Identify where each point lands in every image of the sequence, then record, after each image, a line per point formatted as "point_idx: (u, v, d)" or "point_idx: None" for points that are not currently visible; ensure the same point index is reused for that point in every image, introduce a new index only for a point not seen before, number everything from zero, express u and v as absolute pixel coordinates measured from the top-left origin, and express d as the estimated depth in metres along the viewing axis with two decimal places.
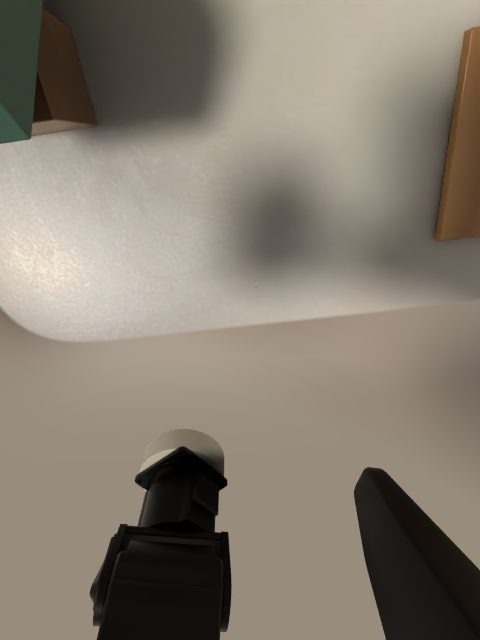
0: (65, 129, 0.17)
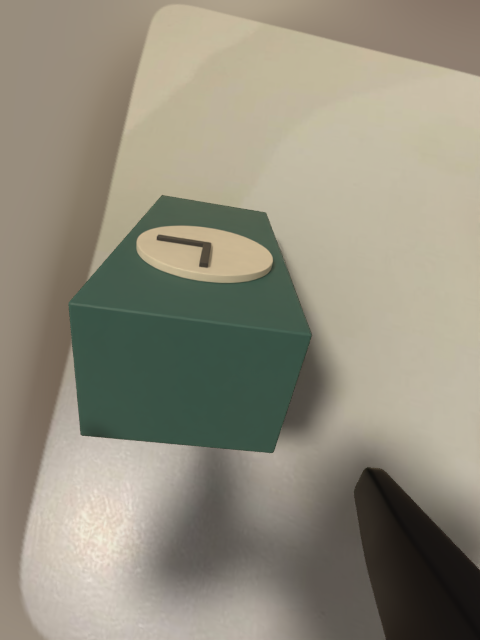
0: None
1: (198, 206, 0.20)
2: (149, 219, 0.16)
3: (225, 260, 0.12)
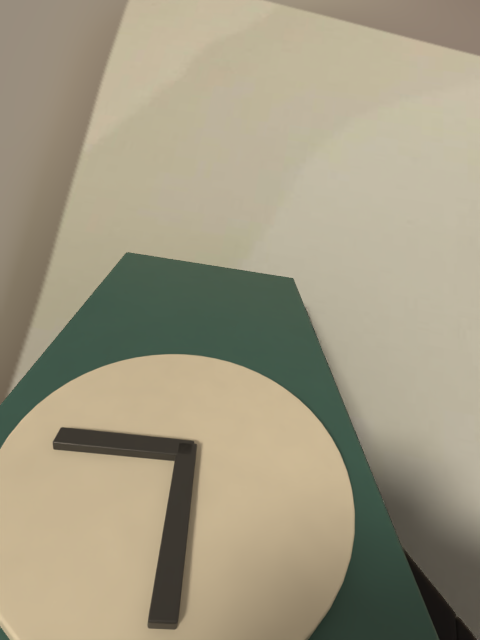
0: None
1: (184, 275, 0.12)
2: (80, 329, 0.08)
3: (232, 537, 0.04)
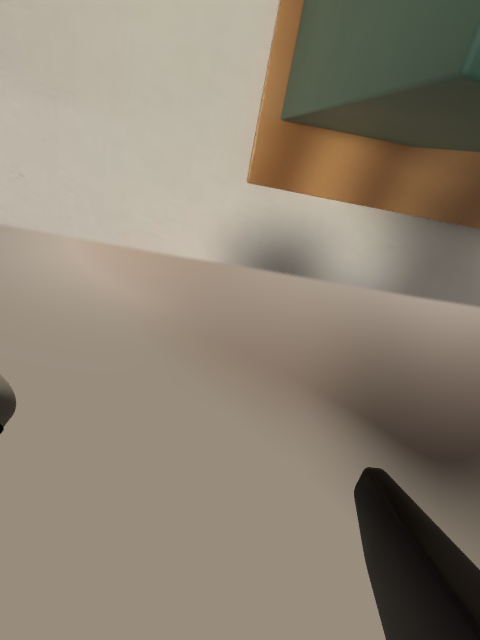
0: None
1: None
2: None
3: None
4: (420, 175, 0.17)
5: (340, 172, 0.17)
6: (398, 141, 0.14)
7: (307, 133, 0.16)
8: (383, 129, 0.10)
